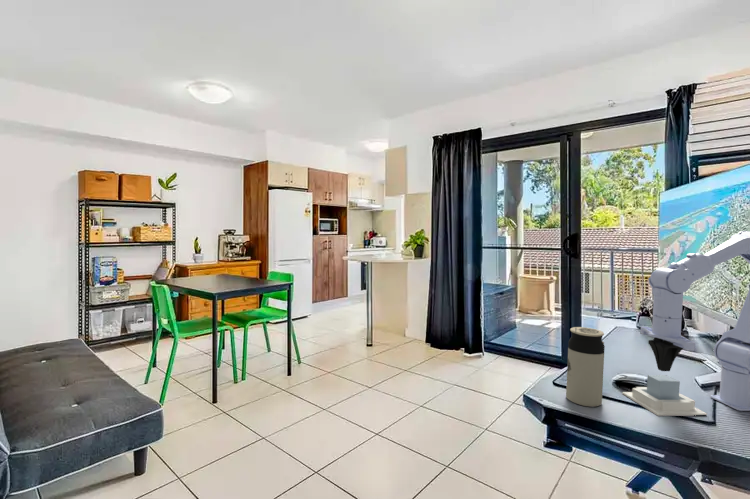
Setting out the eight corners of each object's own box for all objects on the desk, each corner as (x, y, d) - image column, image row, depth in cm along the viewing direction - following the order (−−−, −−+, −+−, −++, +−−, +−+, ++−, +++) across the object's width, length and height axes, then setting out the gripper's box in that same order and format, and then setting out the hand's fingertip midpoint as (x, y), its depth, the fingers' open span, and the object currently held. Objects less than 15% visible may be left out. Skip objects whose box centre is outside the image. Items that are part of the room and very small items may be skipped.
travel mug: (603, 399, 97) (606, 330, 96) (599, 410, 91) (603, 336, 90) (569, 391, 102) (572, 325, 101) (563, 401, 96) (566, 330, 95)
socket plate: (665, 393, 101) (666, 384, 101) (706, 415, 89) (707, 405, 89) (622, 393, 101) (622, 384, 101) (657, 415, 89) (658, 405, 89)
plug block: (665, 398, 97) (666, 375, 97) (678, 405, 93) (679, 381, 93) (646, 398, 97) (647, 375, 97) (658, 405, 93) (660, 381, 93)
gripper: (630, 310, 101) (627, 360, 102) (675, 323, 87) (672, 381, 87) (656, 310, 101) (653, 360, 102) (705, 323, 87) (701, 381, 88)
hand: (663, 370), depth 95 cm, fingers closed
